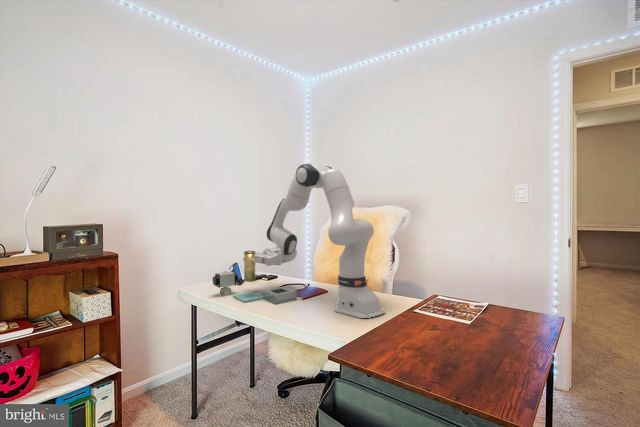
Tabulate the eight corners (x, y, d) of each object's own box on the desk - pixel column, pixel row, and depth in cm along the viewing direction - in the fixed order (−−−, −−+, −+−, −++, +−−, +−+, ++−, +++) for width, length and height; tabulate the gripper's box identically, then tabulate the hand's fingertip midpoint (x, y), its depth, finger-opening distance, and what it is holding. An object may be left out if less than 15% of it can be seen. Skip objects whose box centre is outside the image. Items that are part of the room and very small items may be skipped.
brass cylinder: (257, 280, 162) (257, 251, 162) (247, 281, 159) (247, 252, 158) (252, 278, 166) (252, 250, 166) (242, 279, 163) (242, 251, 163)
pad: (266, 298, 162) (266, 296, 162) (244, 302, 154) (244, 301, 154) (255, 293, 171) (255, 291, 171) (233, 297, 164) (233, 295, 164)
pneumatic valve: (238, 293, 170) (238, 270, 170) (216, 297, 163) (215, 273, 162) (233, 291, 174) (233, 268, 174) (211, 295, 167) (211, 271, 167)
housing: (296, 299, 160) (296, 291, 159) (275, 304, 152) (275, 295, 152) (283, 294, 169) (283, 286, 169) (262, 298, 161) (262, 290, 161)
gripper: (257, 248, 179) (235, 251, 168) (283, 252, 165) (261, 256, 155) (257, 260, 179) (235, 264, 169) (283, 265, 165) (261, 269, 155)
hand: (248, 260), depth 162 cm, fingers closed on brass cylinder, 5 cm apart
